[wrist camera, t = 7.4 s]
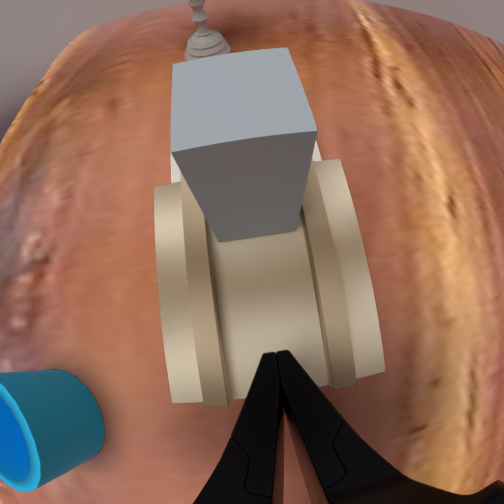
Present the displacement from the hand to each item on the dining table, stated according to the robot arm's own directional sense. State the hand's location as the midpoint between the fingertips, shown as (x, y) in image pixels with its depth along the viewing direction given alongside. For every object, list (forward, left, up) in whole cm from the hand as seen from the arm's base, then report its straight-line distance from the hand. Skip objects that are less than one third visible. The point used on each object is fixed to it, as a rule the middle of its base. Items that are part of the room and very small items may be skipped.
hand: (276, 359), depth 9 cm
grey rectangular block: (+4, -6, -3) cm, 8 cm away
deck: (+2, -3, -10) cm, 11 cm away
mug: (+15, +14, -10) cm, 22 cm away
